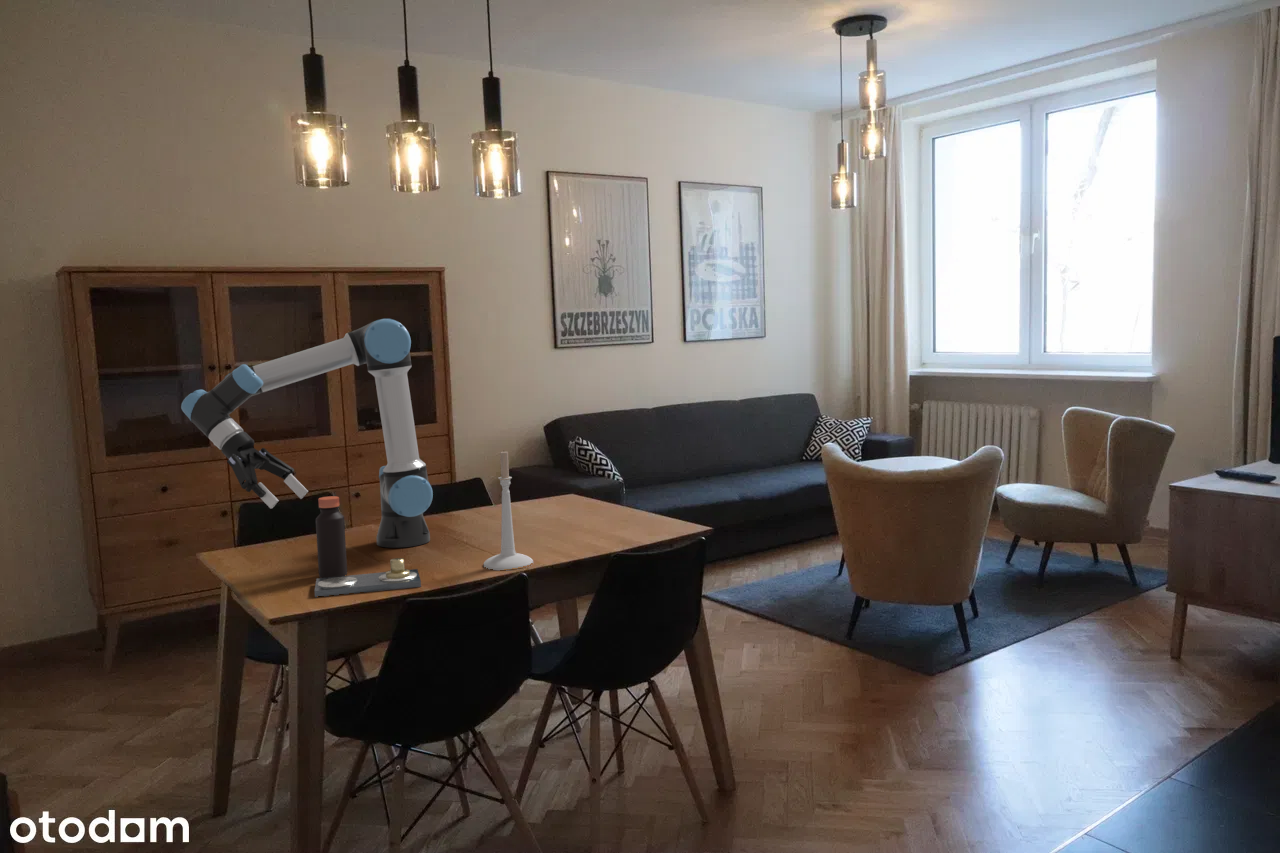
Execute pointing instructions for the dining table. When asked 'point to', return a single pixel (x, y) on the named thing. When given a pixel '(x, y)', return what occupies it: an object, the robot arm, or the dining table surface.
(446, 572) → the dining table surface
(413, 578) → the plate
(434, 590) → the dining table surface
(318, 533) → the vinegar
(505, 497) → the candlestick
